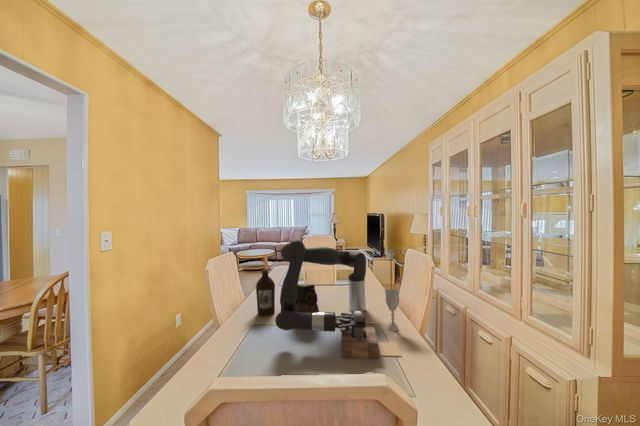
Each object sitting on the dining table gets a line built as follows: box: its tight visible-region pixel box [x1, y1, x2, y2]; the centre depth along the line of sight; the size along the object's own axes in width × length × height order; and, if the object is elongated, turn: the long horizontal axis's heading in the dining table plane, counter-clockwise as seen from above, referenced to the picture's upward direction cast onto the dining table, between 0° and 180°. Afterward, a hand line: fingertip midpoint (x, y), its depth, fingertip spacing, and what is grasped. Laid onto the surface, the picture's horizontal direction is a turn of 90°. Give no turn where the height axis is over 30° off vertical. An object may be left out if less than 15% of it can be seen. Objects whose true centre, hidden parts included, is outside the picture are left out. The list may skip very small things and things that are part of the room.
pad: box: [378, 341, 402, 358], centre depth 105 cm, size 10×8×1 cm
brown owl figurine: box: [295, 283, 320, 313], centre depth 135 cm, size 13×13×20 cm
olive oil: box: [255, 268, 276, 317], centre depth 148 cm, size 11×11×25 cm
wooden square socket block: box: [340, 326, 379, 360], centre depth 107 cm, size 14×14×6 cm
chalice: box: [384, 288, 400, 332], centre depth 124 cm, size 7×7×18 cm
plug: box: [352, 311, 364, 338], centre depth 107 cm, size 4×4×15 cm
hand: (365, 322), depth 106 cm, fingers closed on plug, 4 cm apart
